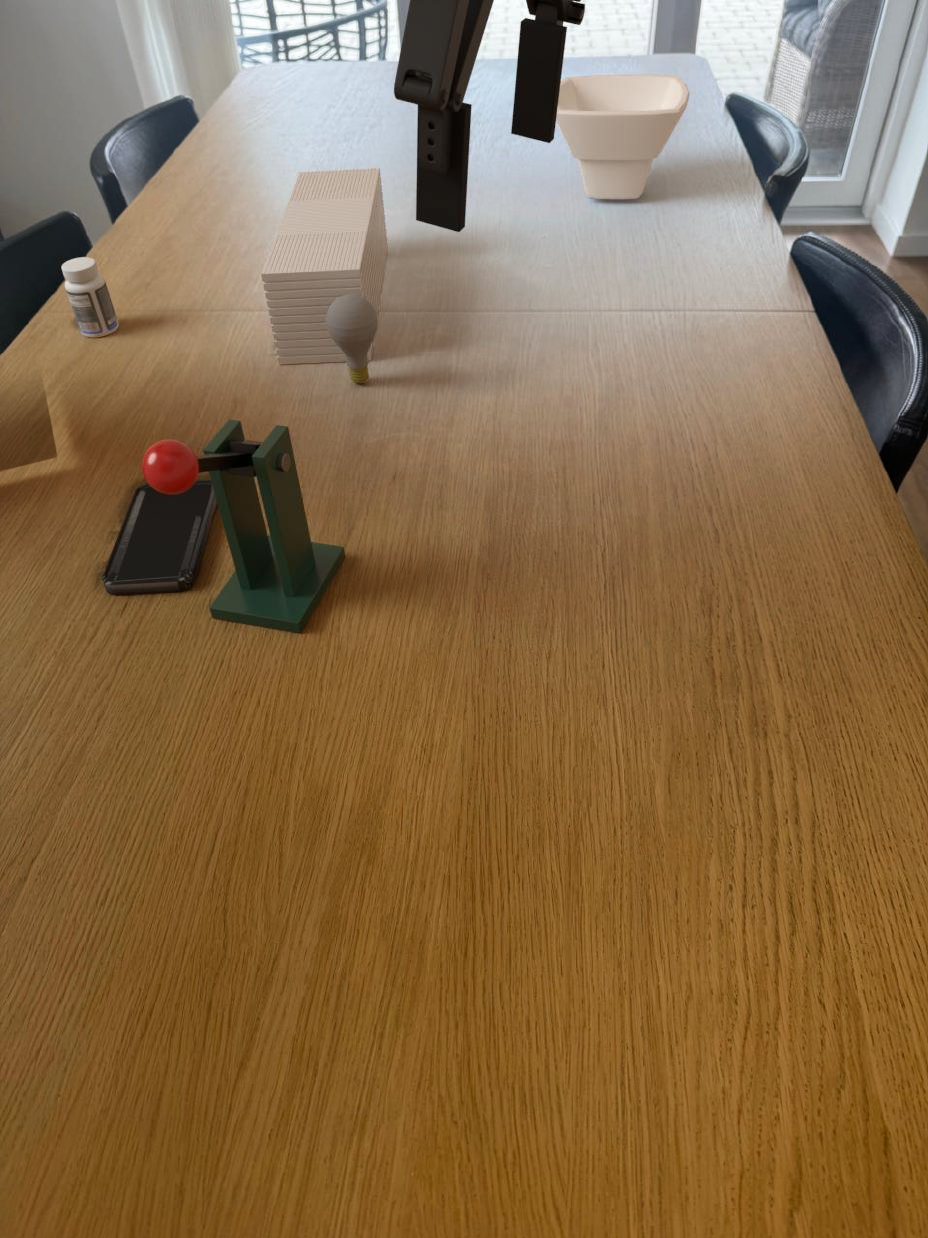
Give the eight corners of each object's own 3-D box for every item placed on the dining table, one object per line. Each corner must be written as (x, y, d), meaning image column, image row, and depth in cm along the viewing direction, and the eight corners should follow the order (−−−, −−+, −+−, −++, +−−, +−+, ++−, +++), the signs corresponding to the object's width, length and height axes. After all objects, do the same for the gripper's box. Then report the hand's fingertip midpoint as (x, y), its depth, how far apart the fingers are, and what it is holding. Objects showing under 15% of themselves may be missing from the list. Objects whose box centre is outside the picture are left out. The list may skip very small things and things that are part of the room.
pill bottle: (109, 317, 123) (89, 251, 117) (125, 329, 120) (105, 263, 114) (74, 329, 121) (51, 263, 115) (89, 342, 118) (67, 275, 112)
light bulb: (354, 400, 104) (341, 313, 98) (326, 382, 108) (312, 296, 101) (394, 382, 107) (385, 296, 100) (366, 365, 110) (355, 280, 103)
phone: (98, 585, 82) (138, 482, 93) (102, 595, 83) (141, 492, 93) (191, 580, 82) (219, 478, 93) (194, 590, 82) (222, 488, 93)
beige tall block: (312, 252, 135) (299, 171, 127) (388, 248, 134) (379, 167, 127) (279, 364, 111) (261, 273, 104) (371, 360, 111) (359, 268, 103)
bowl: (679, 218, 137) (690, 111, 127) (543, 217, 140) (543, 112, 130) (679, 172, 150) (689, 73, 141) (554, 172, 153) (556, 74, 144)
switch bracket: (300, 633, 78) (266, 482, 68) (212, 618, 80) (165, 468, 70) (346, 557, 85) (320, 409, 75) (263, 544, 87) (227, 398, 77)
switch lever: (179, 500, 62) (181, 443, 61) (130, 493, 62) (130, 437, 61) (279, 483, 75) (281, 436, 74) (237, 477, 76) (239, 431, 75)
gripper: (485, -264, 34) (457, 287, 50) (686, -317, 49) (615, 118, 65) (302, -290, 36) (331, 249, 52) (550, -333, 51) (513, 94, 67)
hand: (489, 177), depth 59 cm, fingers open, 13 cm apart
